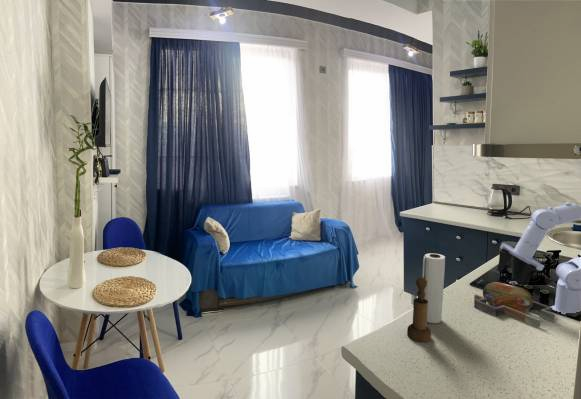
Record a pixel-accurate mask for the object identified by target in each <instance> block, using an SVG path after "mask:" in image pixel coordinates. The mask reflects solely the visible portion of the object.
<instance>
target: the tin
mask: <svg viewBox="0 0 581 399" xmlns="http://www.w3.org/2000/svg"><path fill="white" fill-rule="evenodd" d="M482 297H484V298H487V301H486V304H488V305H491V306H493V307H499V306H502V305H505V306H507V307H510V308H512V309H515V310H517V311H520V312H522V313H525V314H526V313H527V312H529V310H530V308H531V307H532V305H533V301H534V298H533V296H532V294H531V293H530V292H529V290H527V289H525V288H524V287H521V286H516V285H511V284H507V283H503V282H498V281H494V282H493V281H492V282H490V283H487V284H486V285H485V286H484V287H483V289H482Z"/></svg>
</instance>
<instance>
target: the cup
mask: <svg viewBox="0 0 581 399" xmlns="http://www.w3.org/2000/svg"><path fill="white" fill-rule="evenodd" d="M511 258H512V274H511V280H512V279H513V280H515V281H518V279H519V277H520V276H521V274H522V272H523V269H524V267H525V264H526V265H529V264H528V263H526V262H524V261H522V260H521V259H519V258H517V257H516V256H514V255H513V256H512V257H511ZM532 258H533V259H534V260H535V255H533V257H532ZM524 260H525V259H524ZM530 279H531V276H530V277H528V278H527V279H526V280H525V281H524V282H523V283H522V284H523V285H526V284H528V283H530ZM528 285H529V284H528Z"/></svg>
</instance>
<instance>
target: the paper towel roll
mask: <svg viewBox="0 0 581 399" xmlns="http://www.w3.org/2000/svg"><path fill="white" fill-rule="evenodd" d="M422 261H423V262H422V277H423V278H425V279H426V280H427V286H426V287H425V289H424V292H425V297H424V299H426V300H427V301H428V310H427V323H429V324H440V323H441V322H442V318H443V316H442V315H443V302H444V301H443V300H444V283H445V282H444V281H445V270H446V269H445V267H446V256H445V255H443V254H440V253H425V254H424V255H423V260H422Z"/></svg>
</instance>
